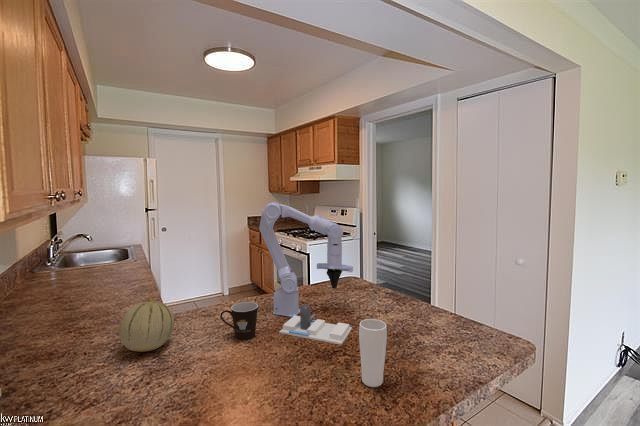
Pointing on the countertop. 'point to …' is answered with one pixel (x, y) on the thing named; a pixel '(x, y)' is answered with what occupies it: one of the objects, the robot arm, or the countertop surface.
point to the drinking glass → (372, 351)
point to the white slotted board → (317, 330)
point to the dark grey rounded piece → (305, 316)
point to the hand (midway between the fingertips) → (334, 287)
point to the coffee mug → (243, 320)
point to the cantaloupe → (146, 326)
